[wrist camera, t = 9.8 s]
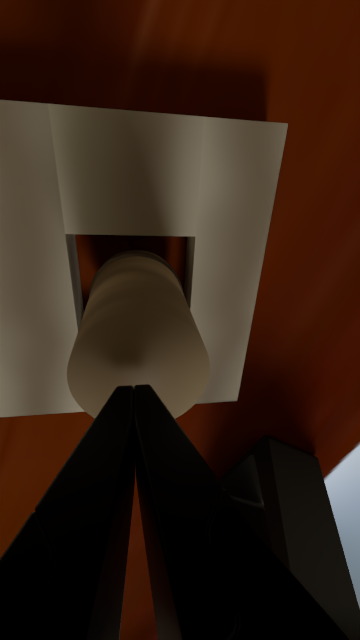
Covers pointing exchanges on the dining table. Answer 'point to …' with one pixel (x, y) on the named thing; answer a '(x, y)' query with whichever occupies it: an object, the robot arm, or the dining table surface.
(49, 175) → the birch board
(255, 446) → the phone stand
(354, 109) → the dining table surface
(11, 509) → the dining table surface
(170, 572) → the robot arm
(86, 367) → the oak peg
